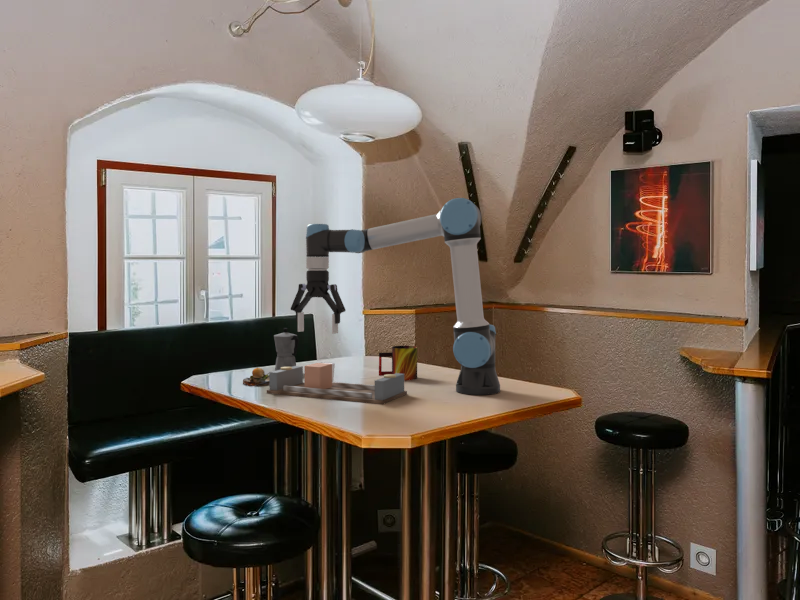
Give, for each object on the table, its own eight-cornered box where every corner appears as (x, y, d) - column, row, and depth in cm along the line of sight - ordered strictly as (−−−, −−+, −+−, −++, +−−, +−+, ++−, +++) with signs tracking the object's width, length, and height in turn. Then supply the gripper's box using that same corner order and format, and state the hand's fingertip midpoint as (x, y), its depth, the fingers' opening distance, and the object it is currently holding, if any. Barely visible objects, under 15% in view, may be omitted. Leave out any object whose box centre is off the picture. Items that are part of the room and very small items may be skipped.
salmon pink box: (332, 386, 238) (332, 363, 237) (319, 390, 230) (319, 367, 230) (317, 385, 240) (317, 362, 240) (304, 389, 233) (304, 366, 232)
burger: (282, 382, 255) (282, 362, 255) (262, 387, 245) (262, 366, 244) (256, 380, 261) (256, 360, 260) (235, 385, 250) (235, 364, 250)
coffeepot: (266, 371, 279) (266, 327, 278) (286, 369, 285) (286, 326, 284) (288, 376, 267) (287, 330, 266) (308, 373, 274) (307, 328, 273)
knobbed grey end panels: (405, 391, 230) (405, 372, 230) (384, 400, 216) (384, 379, 215) (294, 382, 249) (294, 364, 248) (268, 389, 234) (268, 370, 234)
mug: (377, 378, 263) (377, 347, 262) (408, 375, 270) (408, 344, 269) (390, 382, 254) (390, 350, 254) (422, 379, 261) (422, 347, 261)
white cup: (331, 384, 251) (331, 364, 250) (313, 383, 252) (313, 364, 252) (337, 380, 258) (337, 362, 257) (319, 380, 259) (319, 361, 259)
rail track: (406, 394, 231) (406, 386, 231) (383, 404, 215) (383, 396, 215) (296, 384, 250) (296, 377, 250) (266, 393, 233) (266, 385, 233)
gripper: (355, 270, 231) (355, 333, 232) (292, 269, 242) (293, 329, 243) (344, 270, 224) (344, 335, 226) (280, 269, 235) (280, 331, 236)
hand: (317, 332), depth 234 cm, fingers open, 13 cm apart
